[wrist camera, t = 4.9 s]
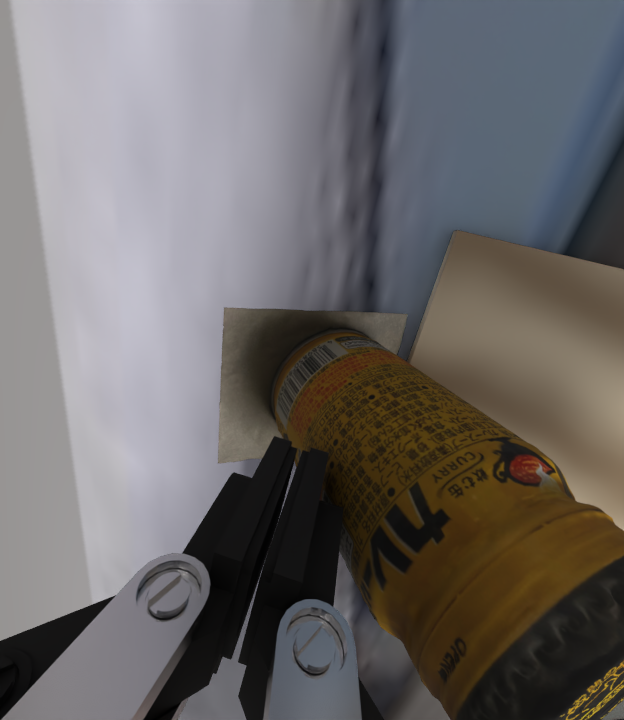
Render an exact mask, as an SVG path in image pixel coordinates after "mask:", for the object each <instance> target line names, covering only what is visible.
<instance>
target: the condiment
mask: <svg viewBox="0 0 624 720" xmlns="http://www.w3.org/2000/svg"><path fill="white" fill-rule="evenodd" d="M407 316H408V314H395V313H376V312H369V313H367V312H352V311H345V312H343V311H304V310H286V309H246V308H224V323H223V326H224V328H223V342H222V366H221V390H220V422H219V450H218V463H226V462H237V461H242V460H247V459H260V458H263V456H264V454H265V452H266V450H267V449H268V447H269V445H270V443H271V441H272V439H273V437H274V436H276V437H280V438H283V439H286V440H289V441H292V445H291V446H292V447H295V448H297V453H296V456H295V464H296V467H297V465H298V462H299V459H300V456H301V453H302V451H303V450H304V451H308V452H310V449H311V447H312V448H315V449H318V450H322V451H325V452H328V453H329V455H328V460H327V465H326V470H325V475H324V480H323V484H322V489H321V494H320V499H319V500H321V501H324V502H328V503H331V504H334V505H337V506H340V507H343V519H342V528H341V538H340V547H339V551H340V553H341V555H342V557H343V559H344V560H345V562H346V566H347V568H348V569H349V571H350V573H351V575H352V577H353V579H354V581H355V583H356V584H357V586H358V588H359V590H360V592H361V594H362V597H363V600H364V601H365V602H366V604H367V605H368V607H369V611H370V612H371V614H372V615H373V617H374V619H375V620H376V621H377V622H378V624H379V625H380V626H381V628H383V629H384V630H386V631H387V632H388V633H390V634H391V635H393V636H395V637H397V638H398V639H400V640H401V641H402V642H403V644H404V646H405V648H406V650H407V652H408V654H409V656H410V658H411V660H412V662H413V664H414V666H415V668H416V669H417V671H418V673H419V675H420V678H421V681H422V682H423V684H424V685H425V686H426V687H427V688H428V690H429V691H430V693H431V694H432V695H433V696H434V697H435V698H437V699H438V700H439V701H440V702H441V704H442V706H443V708H444V710H445V711H446V713H447V714H448V716H449V717H450V719H451V720H602V719H603V717H605V716H606V715H607V714H608V713H609V712H610V711H612V710H613V709H614V708H615V707H616V706H617V705H618V704H619V703H621V702H622V701H623V699H624V531H623V530H622V529H621V528H619V527H618V526H616V525H615V523H614V521H613V519H612V517H610V516H609V515H607V514H606V513H605V512H604V511H602V510H601V509H600V508H598V507H596V506H593V505H590V504H584V503H580V502H577V501H576V500H575V497H574V495H573V493H572V492H571V490H570V488H569V486H568V483H567V481H566V478H565V477H564V475H563V473H562V472H561V470H560V469H559V467H558V466H557V465H556V464H555V463H554V462H553V460H552V459H550V458H549V457H547V456H546V455H545V454H544V453H543V452H541V451H540V450H539V449H538V448H537V447H535V446H533V445H532V444H530V443H528V442H526V441H525V440H523V439H522V438H520V437H519V436H517V435H516V434H514V433H513V432H511V431H510V430H508V429H506V428H505V427H504V426H502V425H501V424H499V423H498V422H496V421H495V420H493V419H492V418H490V417H489V416H487V415H486V414H484V413H483V412H482V411H480V410H478V409H477V408H475V407H474V406H472V405H471V404H469V403H468V402H466V401H465V400H463V399H462V398H460V397H459V396H457V395H456V394H454V393H453V392H451V391H450V390H448V389H447V388H445V387H444V386H442V385H441V384H439V383H438V382H436V381H435V380H433V379H432V378H430V377H429V376H427V375H426V374H424V373H423V372H421V371H420V370H418V369H417V368H415V367H414V366H412V365H411V364H409V363H408V362H406V361H405V360H403V359H402V358H400V357H399V356H397V354H398V351H399V347H400V345H401V340H402V336H403V333H404V329H405V325H406V320H407Z"/></svg>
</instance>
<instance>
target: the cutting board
mask: <svg viewBox="0 0 624 720" xmlns="http://www.w3.org/2000/svg"><path fill="white" fill-rule="evenodd" d="M407 362H408V363H409V364H411V365H412V366H414V367H415V368H417V369H418V370H420V371H421V372H423V373H424V374H426V375H427V376H429V377H430V378H432V379H433V380H435V381H436V382H438V383H439V384H441V385H442V386H444V387H445V388H447V389H448V390H450V391H451V392H453V393H454V394H456V395H457V396H459V397H460V398H462V399H463V400H465V401H466V402H468V403H469V404H471V405H472V406H474V407H475V408H477V409H478V410H480V411H482V412H483V413H484V414H486V415H487V416H489V417H490V418H492V419H493V420H495V421H496V422H498V423H499V424H501V425H502V426H504V427H505V428H506V429H508V430H510V431H511V432H513V433H514V434H516V435H517V436H519V437H520V438H522V439H523V440H525V441H526V442H528V443H530V444H532V445H533V446H535V447H537V448H538V449H539V450H540V451H541V452H543V453H544V454H545V455H546V456H547V457H549V458H550V459H552V460H553V462H554V463H555V464H556V465H557V466H558V467H559V469H560V470H561V472H562V473H563V475H564V477H565V478H566V481H567V483H568V486H569V488H570V490H571V492H572V493H573V495H574V497H575V500H576V501H577V502H580V503H584V504H590V505H593V506H596V507H598V508H600V509H601V510H602V511H604V512H605V513H606V514H607V515H609V516H610V517H612V519H613V521H614V523H615V525H616V526H618V527H619V528H621V529H622V530H623V531H624V269H620V268H616V267H611V266H607V265H603V264H599V263H595V262H590V261H586V260H582V259H578V258H573V257H569V256H565V255H561V254H556V253H552V252H548V251H544V250H540V249H535V248H531V247H527V246H523V245H518V244H514V243H510V242H506V241H502V240H497V239H493V238H489V237H485V236H480V235H476V234H472V233H468V232H463V231H459V230H456V231H453V234H452V237H451V240H450V242H449V245H448V248H447V251H446V254H445V256H444V259H443V262H442V265H441V268H440V270H439V273H438V276H437V279H436V282H435V285H434V287H433V290H432V293H431V296H430V299H429V301H428V304H427V307H426V310H425V313H424V315H423V318H422V321H421V324H420V327H419V329H418V332H417V335H416V338H415V341H414V343H413V346H412V349H411V352H410V355H409V357H408V360H407Z"/></svg>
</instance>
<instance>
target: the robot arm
mask: <svg viewBox="0 0 624 720" xmlns="http://www.w3.org/2000/svg"><path fill="white" fill-rule="evenodd" d="M291 445H292V441H289V440H286V439H283V438H280V437H276V436H274V437H273V439H272V441H271V443H270V445H269V447H268V449H267V450H266V452H265V454H264V456H263V458H262V460H261V462H260V464H259V466H258V468H257V470H256V472H255V474H254V476H253V477H252V478H250V477H247V476H244V475H240V474H237V473H232V475H231V476H230V477H229V479H228V480H227V482H226V484H225V485H224V487H223V489H222V490H221V492H220V493H219V495H218V497H217V498H216V500H215V501H214V503H213V505H212V506H211V508H210V509H209V511H208V513H207V514H206V516H205V518H204V519H203V521H202V522H201V524H200V526H199V527H198V529H197V530H196V532H195V534H194V535H193V537H192V539H191V540H190V542H189V543H188V545H187V547H186V548H185V550H184V551H183V553H182V554H176V553H172V554H168V555H164V556H160V557H158V558H156V559H154V560H152V561H150V562H149V563H147V564H146V565H145V566H144V567H143V568H142V569H140V570H139V571H138V572H137V573H136V574H135V575H134V577H133V578H132V579H131V580H130V581H129V582H128V583H127V584H126V585H125V586H124V587H123V588H122V590H121V591H120V592H119V593H118V594H117V595H116V596H113V597H111V598H108V599H105V600H103V601H100V602H98V603H95V604H93V605H90V606H88V607H85V608H83V609H80V610H78V611H75V612H73V613H70V614H68V615H65V616H62V617H60V618H57V619H55V620H52V621H50V622H47V623H45V624H42V625H40V626H37V627H35V628H32V629H30V630H27V631H24V632H22V633H19V634H17V635H14V636H12V637H9V638H7V639H4V640H2V641H0V720H178V718H179V716H180V714H181V713H182V711H183V709H184V707H185V705H186V702H187V700H188V697H190V696H191V695H193V694H195V693H196V692H198V691H199V690H201V689H203V688H204V687H206V686H207V685H209V682H210V680H211V677H212V674H213V673H215V674H216V673H217V670H218V667H219V665H220V662H221V659H222V656H223V657H225V658H228V659H231V658H232V656H233V653H234V650H235V647H236V644H237V641H238V638H239V635H240V632H241V629H242V627H243V624H244V621H245V618H246V615H247V612H248V609H249V606H250V603H251V600H252V597H253V594H254V591H255V588H256V585H257V582H258V580H259V577H260V574H261V577H260V580H259V584H258V588H257V592H256V595H255V599H254V603H253V607H252V611H251V615H250V618H249V622H248V626H247V630H246V634H245V637H244V641H243V645H242V649H241V653H240V657H239V660H238V662H239V663H241V664H244V665H247V667H246V670H245V674H244V677H243V681H242V685H241V688H240V692H239V695H238V697H239V699H240V702H241V705H242V708H243V711H244V713H245V716H246V719H247V720H384V719H383V717H382V716H381V714H380V712H379V711H378V709H377V707H376V706H375V704H374V702H373V701H372V699H371V697H370V696H369V694H368V692H367V691H366V689H365V687H364V686H363V684H362V682H361V681H360V679H359V677H358V670H357V658H356V647H355V643H354V638H353V633H352V631H351V629H350V627H349V625H348V623H347V621H346V620H345V619H344V617H343V616H342V615H341V614H340V612H339V611H338V610H336V609H335V608H334V607H333V605H334V595H335V586H336V576H337V566H338V557H339V547H340V538H341V528H342V519H343V507H340V506H337V505H334V504H331V503H328V502H324V501H321V500H319V499H320V494H321V489H322V484H323V480H324V475H325V470H326V465H327V460H328V455H329V453H328V452H325V451H322V450H318V449H315V448H312V447H311V449H310V452H308V451H304V450H303V451H302V453H301V456H300V459H299V462H298V465H297V468H296V471H295V474H294V477H293V480H292V483H291V486H290V489H289V492H288V495H287V498H286V501H285V504H284V507H283V509H282V505H283V501H284V498H285V494H286V490H287V486H288V483H289V479H290V475H291V471H292V468H293V464H294V460H295V456H296V453H297V448H295V447H292V446H291ZM281 509H282V512H281ZM280 513H281V515H280ZM279 516H280V518H279ZM278 520H279V521H278ZM277 523H278V524H277ZM276 526H277V527H276ZM273 535H274V536H273ZM272 538H273V539H272ZM271 541H272V542H271ZM270 544H271V545H270ZM269 547H270V548H269ZM268 550H269V551H268ZM267 553H268V554H267ZM266 556H267V557H266ZM265 559H266V560H265ZM264 562H265V563H264ZM263 565H264V566H263ZM262 568H263V570H262ZM261 571H262V573H261Z"/></svg>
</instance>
